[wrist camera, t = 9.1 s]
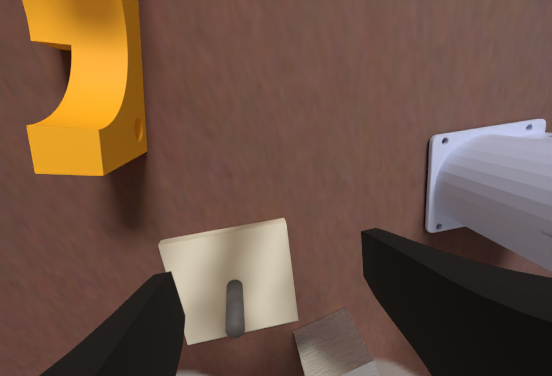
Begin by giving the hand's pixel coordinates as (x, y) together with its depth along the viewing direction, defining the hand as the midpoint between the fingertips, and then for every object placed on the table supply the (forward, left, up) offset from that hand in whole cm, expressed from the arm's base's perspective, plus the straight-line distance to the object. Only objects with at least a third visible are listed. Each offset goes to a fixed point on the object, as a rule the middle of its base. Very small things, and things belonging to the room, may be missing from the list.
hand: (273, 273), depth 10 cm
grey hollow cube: (-4, +15, -10) cm, 19 cm away
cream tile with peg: (+3, +7, -10) cm, 12 cm away
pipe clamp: (+7, -10, -10) cm, 16 cm away
